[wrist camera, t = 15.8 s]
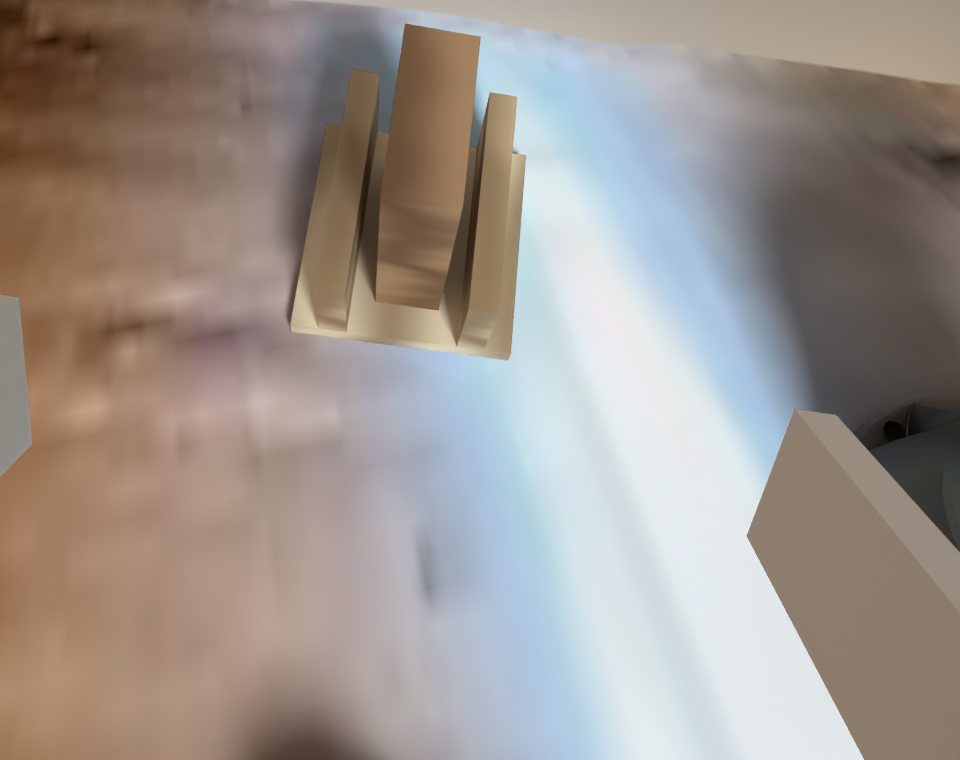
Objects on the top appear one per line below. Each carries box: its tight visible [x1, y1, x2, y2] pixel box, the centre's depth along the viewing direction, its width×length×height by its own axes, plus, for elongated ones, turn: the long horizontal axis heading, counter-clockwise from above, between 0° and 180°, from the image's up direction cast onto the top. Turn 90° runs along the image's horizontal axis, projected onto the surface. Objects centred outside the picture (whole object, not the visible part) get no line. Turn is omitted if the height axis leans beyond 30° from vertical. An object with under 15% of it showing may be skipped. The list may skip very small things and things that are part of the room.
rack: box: [290, 69, 526, 360], centre depth 43 cm, size 12×13×6 cm
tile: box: [375, 24, 481, 311], centre depth 40 cm, size 4×9×11 cm, turn 175°
